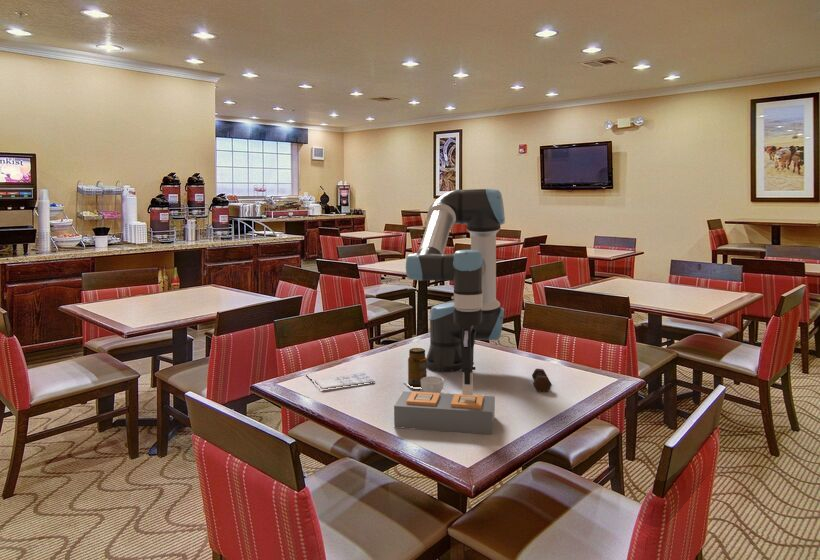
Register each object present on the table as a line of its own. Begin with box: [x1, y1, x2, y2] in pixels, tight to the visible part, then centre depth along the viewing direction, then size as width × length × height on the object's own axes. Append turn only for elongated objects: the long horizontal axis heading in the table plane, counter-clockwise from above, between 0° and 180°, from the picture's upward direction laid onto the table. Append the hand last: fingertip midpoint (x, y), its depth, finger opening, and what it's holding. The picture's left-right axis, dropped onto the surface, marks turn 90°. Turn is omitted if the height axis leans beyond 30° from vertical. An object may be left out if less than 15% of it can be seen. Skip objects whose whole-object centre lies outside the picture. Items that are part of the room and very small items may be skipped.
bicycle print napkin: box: [314, 371, 376, 389], centre depth 190 cm, size 19×20×2 cm
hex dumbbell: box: [531, 368, 552, 393], centre depth 182 cm, size 6×5×15 cm
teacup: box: [416, 375, 449, 394], centre depth 174 cm, size 10×10×5 cm
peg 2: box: [459, 397, 476, 403], centre depth 150 cm, size 4×4×7 cm
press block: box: [393, 390, 496, 435], centre depth 151 cm, size 12×26×7 cm, turn 79°
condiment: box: [407, 347, 428, 391], centre depth 182 cm, size 7×8×12 cm
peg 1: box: [415, 394, 432, 400], centre depth 152 cm, size 4×4×7 cm
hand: (467, 394), depth 149 cm, fingers closed
